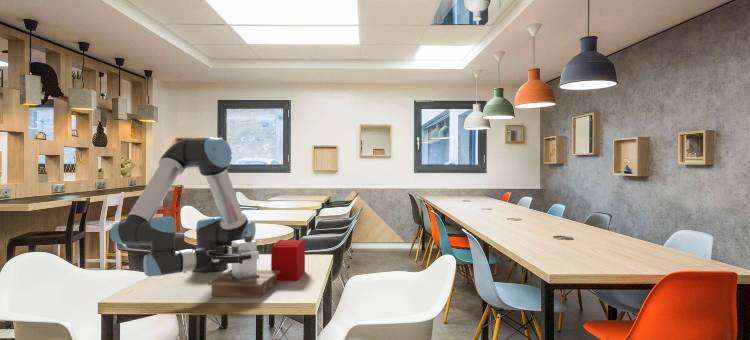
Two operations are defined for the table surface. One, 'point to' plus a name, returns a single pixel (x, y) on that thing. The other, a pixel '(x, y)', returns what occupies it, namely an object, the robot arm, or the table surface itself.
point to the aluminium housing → (247, 267)
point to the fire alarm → (288, 259)
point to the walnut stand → (244, 284)
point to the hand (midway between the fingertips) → (251, 252)
